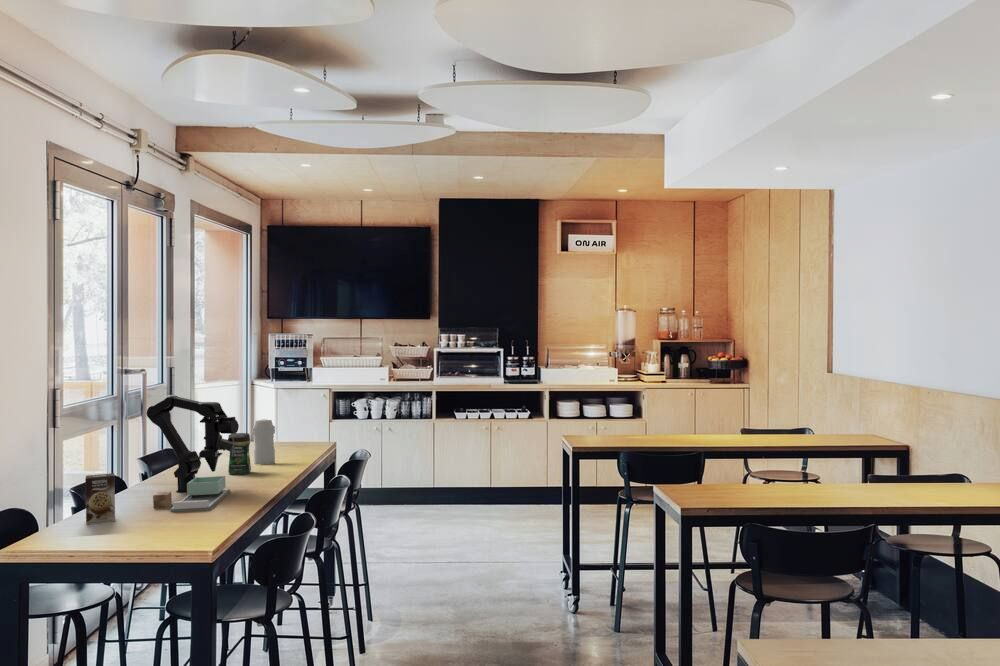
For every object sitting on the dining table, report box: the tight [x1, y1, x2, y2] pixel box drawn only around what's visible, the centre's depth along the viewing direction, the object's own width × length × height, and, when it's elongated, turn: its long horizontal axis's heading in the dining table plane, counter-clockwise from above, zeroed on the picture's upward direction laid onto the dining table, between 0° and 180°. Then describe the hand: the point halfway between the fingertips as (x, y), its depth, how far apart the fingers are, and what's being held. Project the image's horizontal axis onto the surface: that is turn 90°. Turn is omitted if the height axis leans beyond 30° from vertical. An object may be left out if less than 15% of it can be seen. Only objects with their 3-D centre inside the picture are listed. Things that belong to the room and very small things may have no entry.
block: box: [152, 491, 173, 509], centre depth 283 cm, size 5×5×5 cm
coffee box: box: [84, 472, 116, 525], centre depth 263 cm, size 9×6×16 cm
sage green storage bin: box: [186, 475, 227, 497], centre depth 296 cm, size 12×12×6 cm
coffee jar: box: [227, 432, 252, 475], centre depth 344 cm, size 10×8×19 cm
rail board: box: [170, 487, 231, 513], centre depth 289 cm, size 14×30×3 cm, turn 7°
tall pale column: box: [252, 418, 276, 465], centre depth 366 cm, size 11×4×22 cm, turn 96°
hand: (213, 471), depth 307 cm, fingers closed
